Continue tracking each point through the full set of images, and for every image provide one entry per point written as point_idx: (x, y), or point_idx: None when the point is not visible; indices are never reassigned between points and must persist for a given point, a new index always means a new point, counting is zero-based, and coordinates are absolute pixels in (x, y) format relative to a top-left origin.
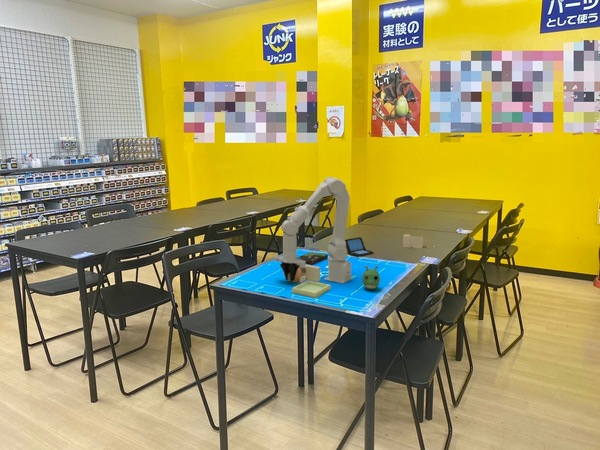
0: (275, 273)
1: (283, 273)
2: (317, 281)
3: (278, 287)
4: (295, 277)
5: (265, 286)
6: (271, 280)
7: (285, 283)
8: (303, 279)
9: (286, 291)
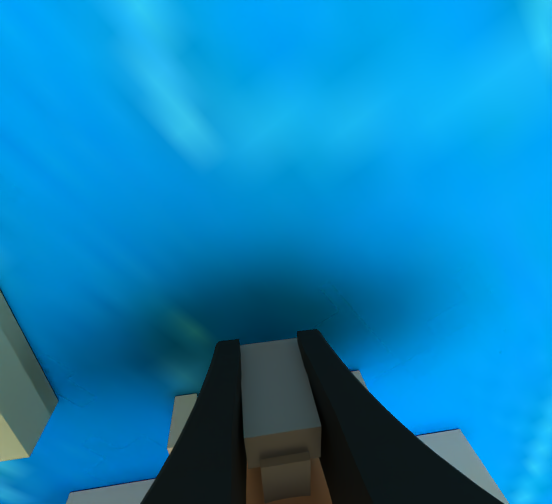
0: (541, 414)
1: (467, 443)
2: (71, 496)
3: (284, 107)
4: None
5: (496, 8)
6: (508, 268)
7: (305, 291)
8: None
9: (15, 8)
